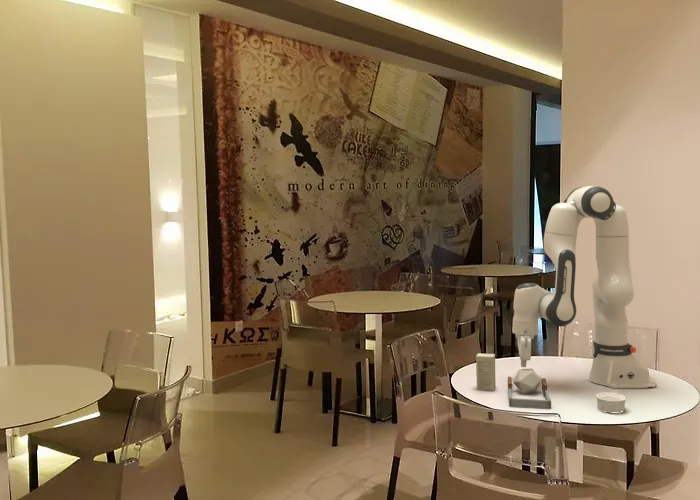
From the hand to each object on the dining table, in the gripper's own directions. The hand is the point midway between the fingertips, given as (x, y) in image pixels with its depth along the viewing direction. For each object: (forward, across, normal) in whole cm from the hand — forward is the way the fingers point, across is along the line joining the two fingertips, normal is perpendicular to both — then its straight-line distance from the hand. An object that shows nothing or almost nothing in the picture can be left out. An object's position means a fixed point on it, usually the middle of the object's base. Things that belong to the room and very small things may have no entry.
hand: (523, 366), depth 240 cm
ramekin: (+6, -24, -26) cm, 36 cm away
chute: (+6, -11, -1) cm, 12 cm away
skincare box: (+7, -9, +13) cm, 17 cm away
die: (+6, -10, -1) cm, 12 cm away
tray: (+6, -21, -1) cm, 22 cm away
